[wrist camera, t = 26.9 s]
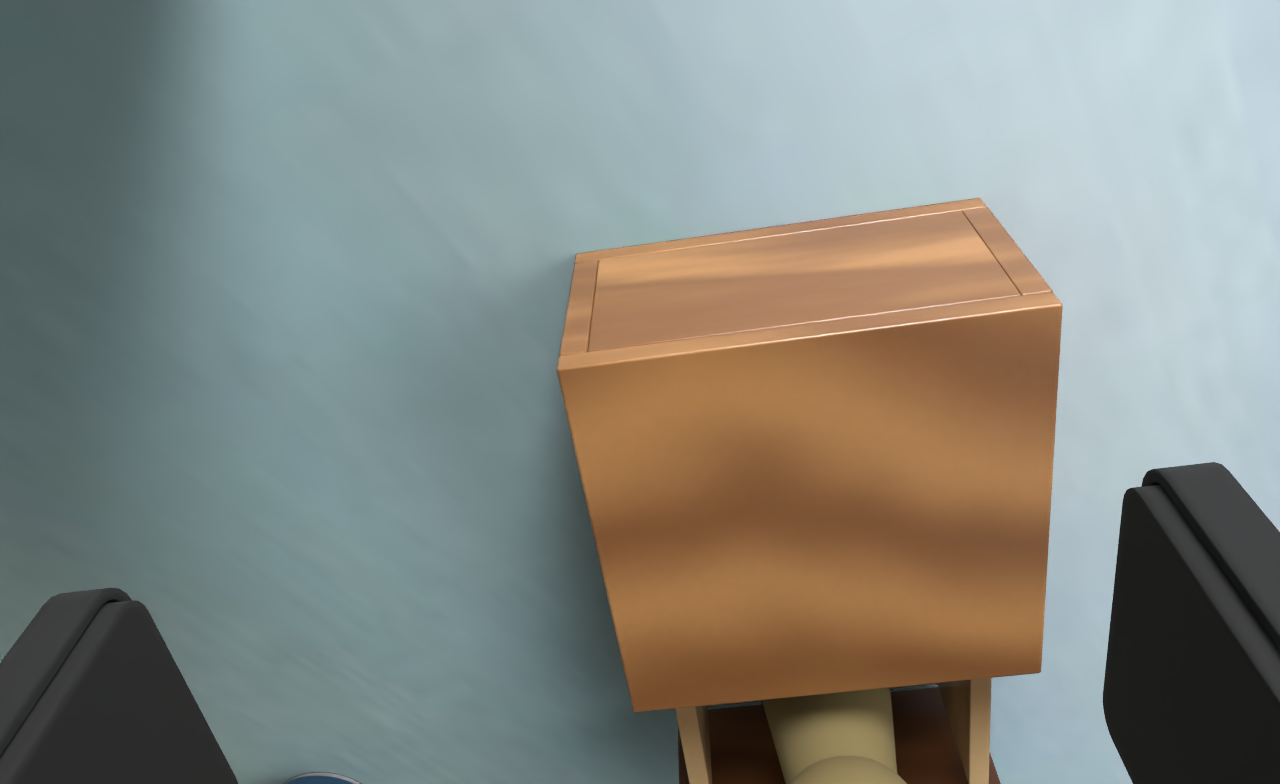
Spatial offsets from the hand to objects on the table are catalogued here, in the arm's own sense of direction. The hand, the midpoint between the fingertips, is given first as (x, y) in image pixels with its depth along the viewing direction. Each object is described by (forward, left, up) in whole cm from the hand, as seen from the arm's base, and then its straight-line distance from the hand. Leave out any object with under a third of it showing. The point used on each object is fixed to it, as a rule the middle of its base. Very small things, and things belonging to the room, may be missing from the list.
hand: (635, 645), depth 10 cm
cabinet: (+6, -14, -28) cm, 32 cm away
